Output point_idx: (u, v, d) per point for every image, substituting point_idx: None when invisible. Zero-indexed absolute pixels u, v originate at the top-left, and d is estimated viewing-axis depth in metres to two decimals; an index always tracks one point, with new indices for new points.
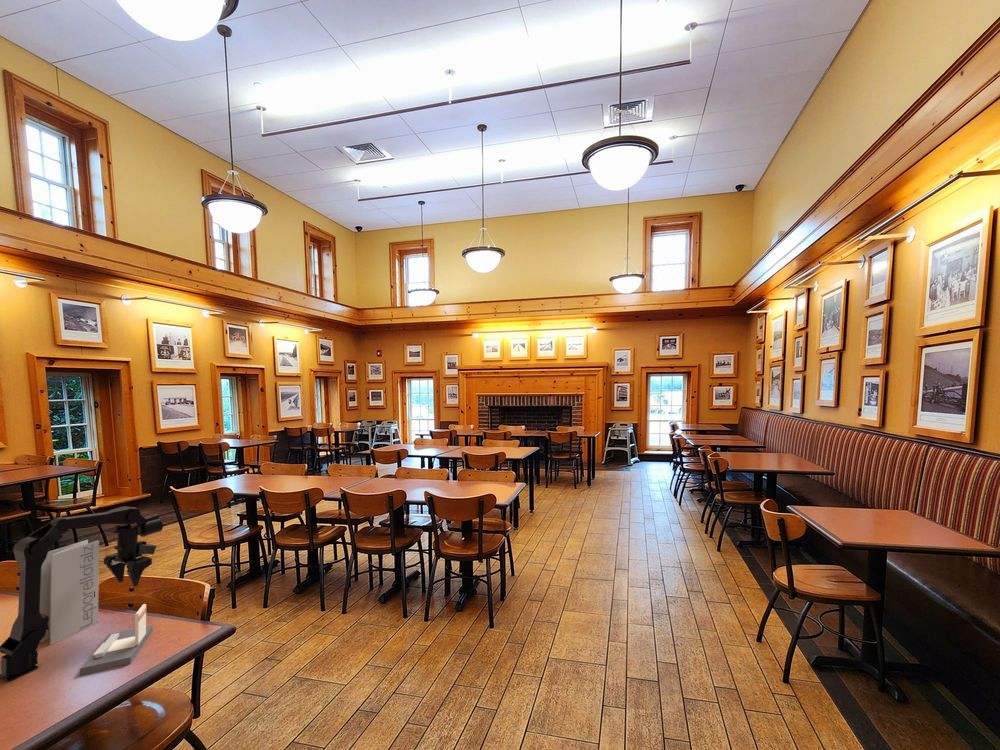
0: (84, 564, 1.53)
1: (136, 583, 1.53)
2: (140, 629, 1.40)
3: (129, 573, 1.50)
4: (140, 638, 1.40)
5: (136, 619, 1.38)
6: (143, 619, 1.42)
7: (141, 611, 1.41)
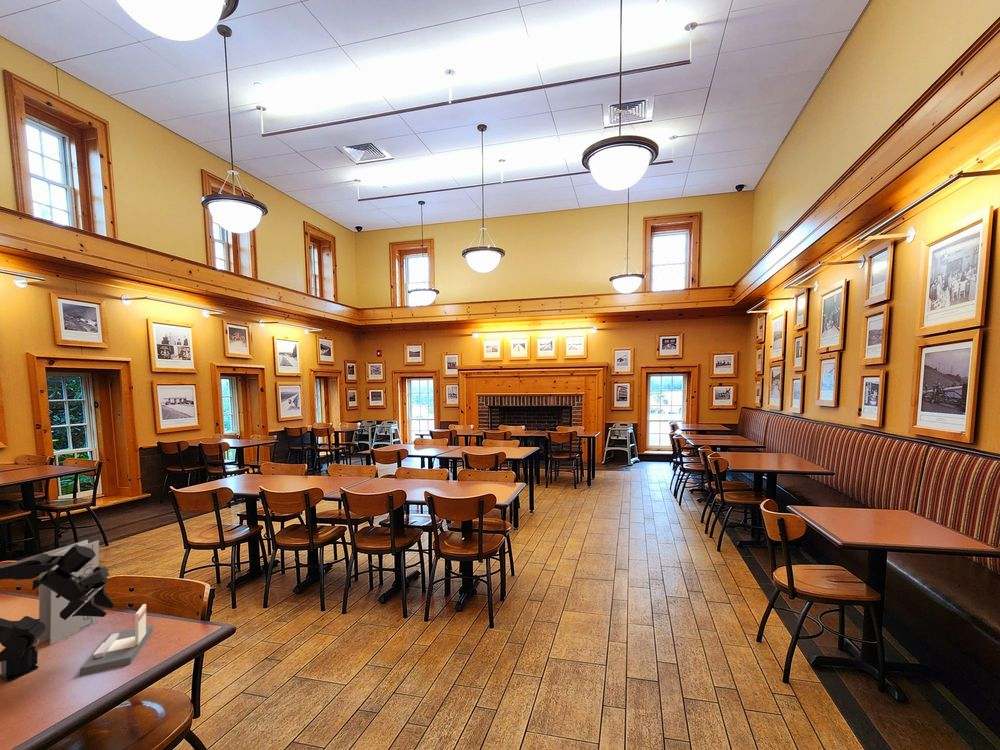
0: None
1: (101, 613, 1.34)
2: (140, 629, 1.40)
3: None
4: (140, 638, 1.40)
5: (136, 619, 1.38)
6: (143, 619, 1.42)
7: (141, 611, 1.41)
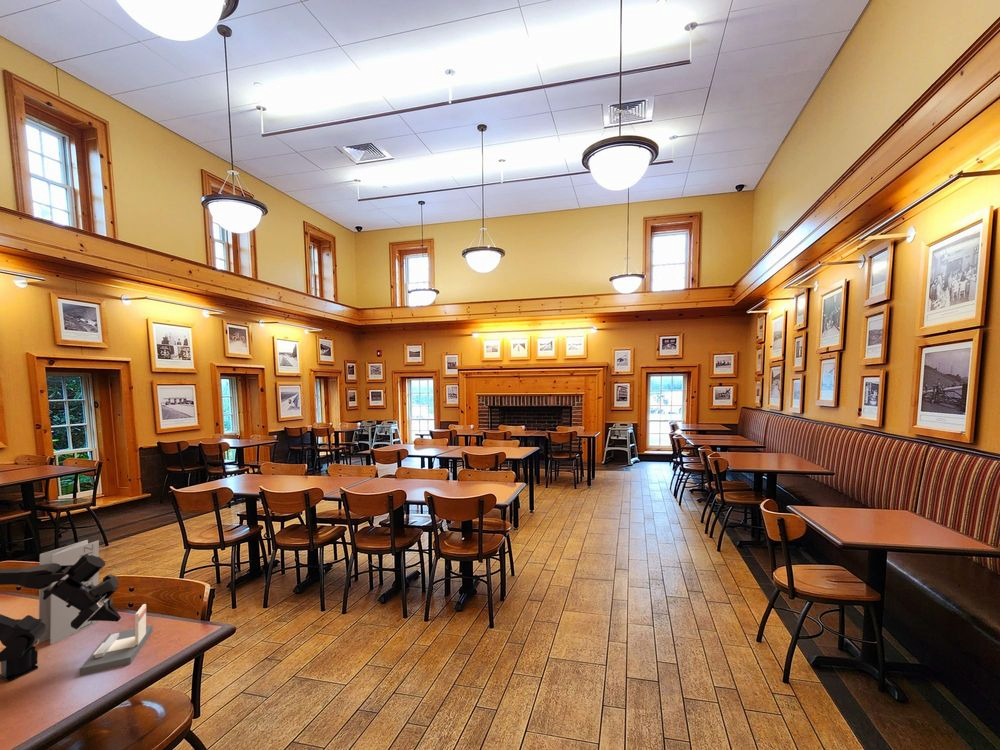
0: None
1: (115, 618, 1.38)
2: (140, 629, 1.40)
3: None
4: (140, 638, 1.40)
5: (136, 619, 1.38)
6: (143, 619, 1.42)
7: (141, 611, 1.41)
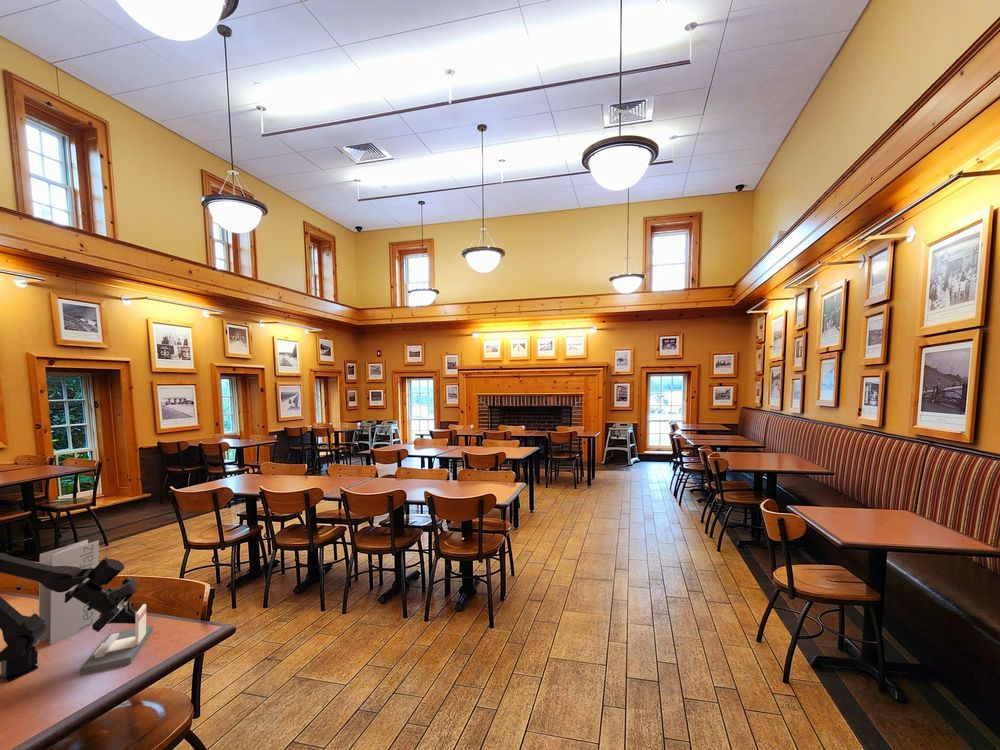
0: (84, 564, 1.53)
1: None
2: (140, 629, 1.40)
3: None
4: (140, 638, 1.40)
5: (136, 619, 1.38)
6: (143, 619, 1.42)
7: (141, 611, 1.41)
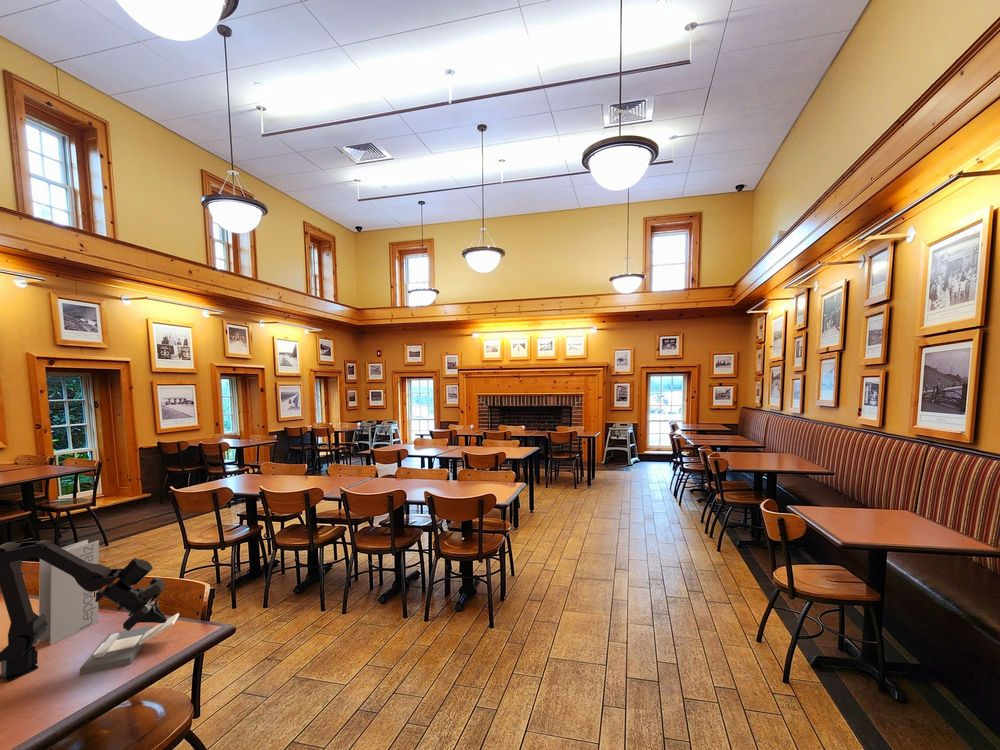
0: None
1: (162, 620, 1.43)
2: None
3: None
4: None
5: (167, 626, 1.41)
6: None
7: None
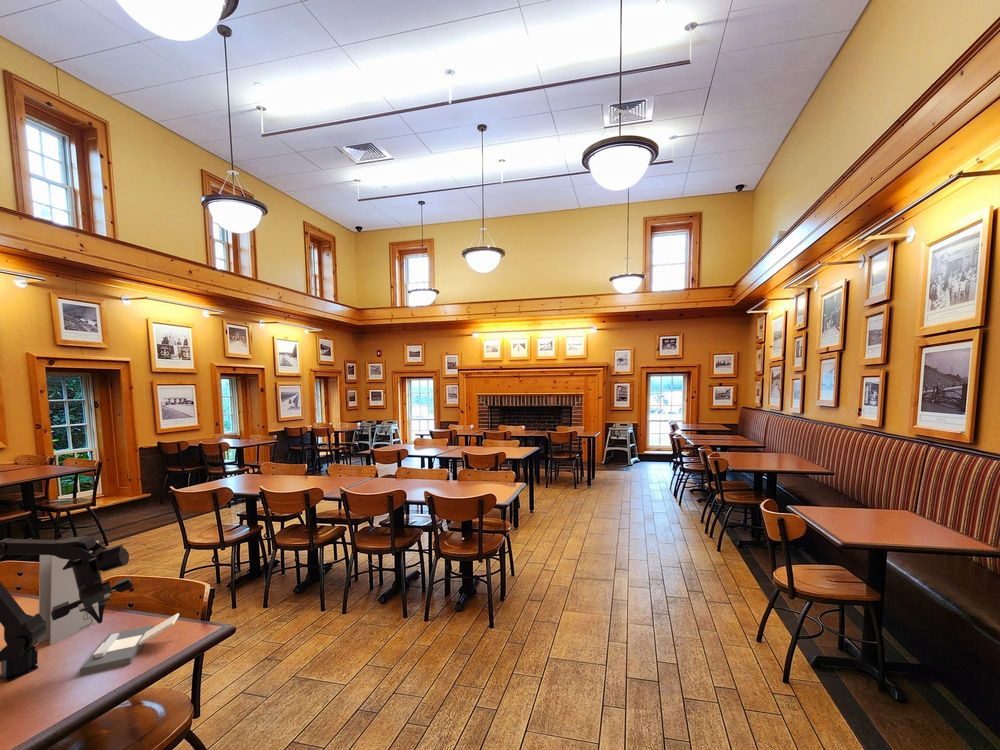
0: None
1: (97, 620, 1.35)
2: None
3: None
4: None
5: (167, 626, 1.41)
6: None
7: None
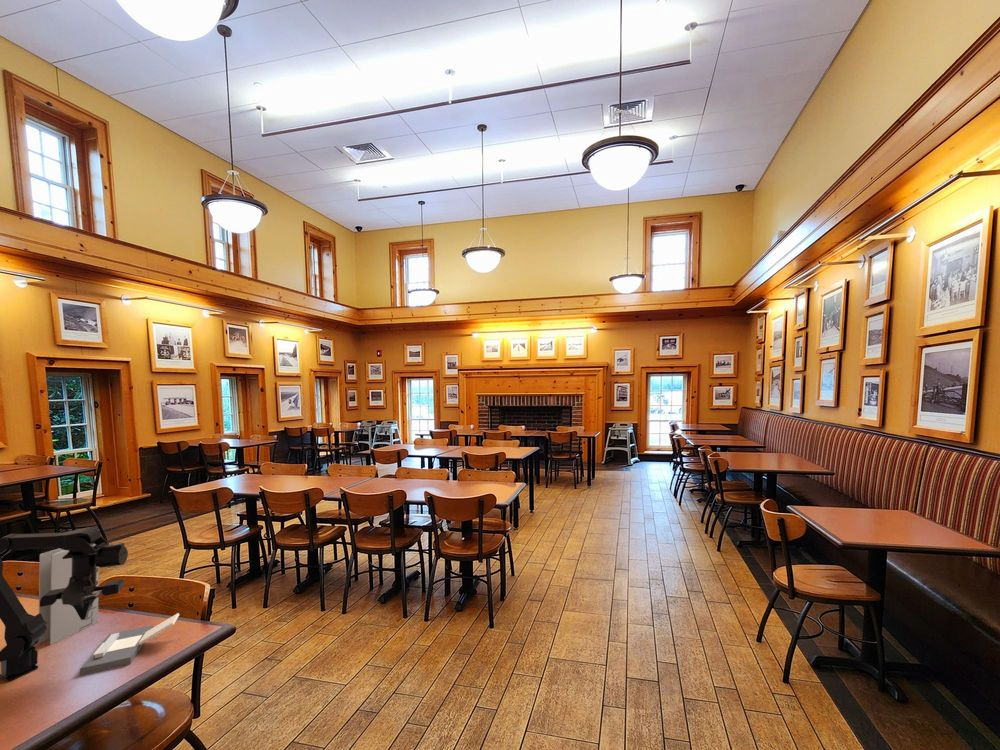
0: None
1: None
2: None
3: None
4: None
5: (167, 626, 1.41)
6: None
7: None
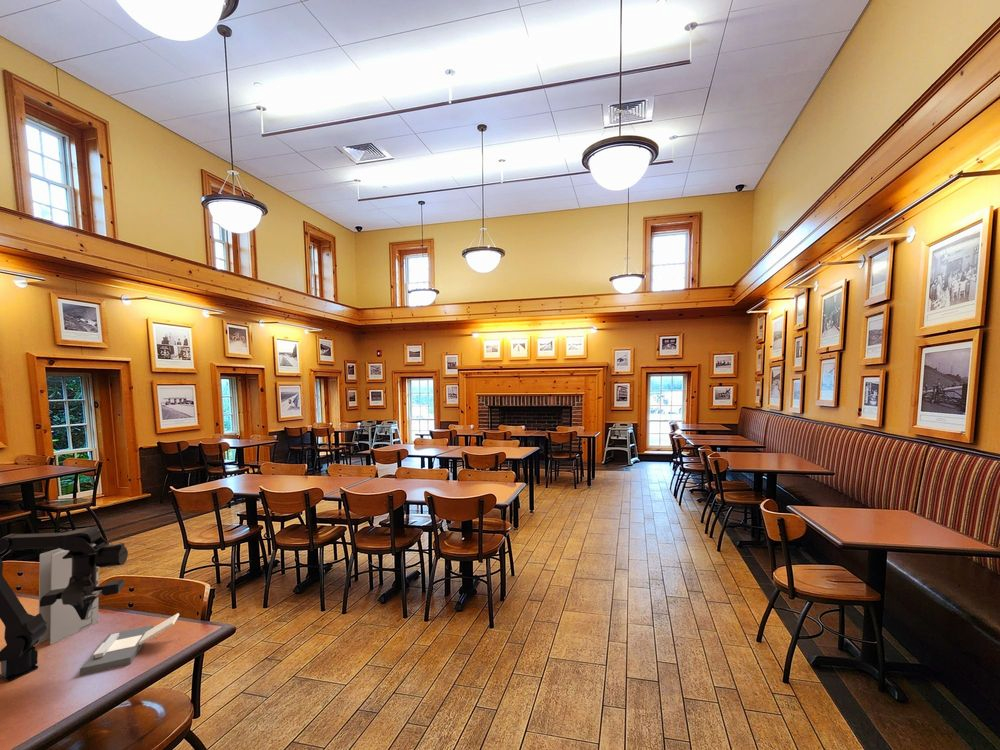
0: None
1: None
2: None
3: None
4: None
5: (167, 626, 1.41)
6: None
7: None
